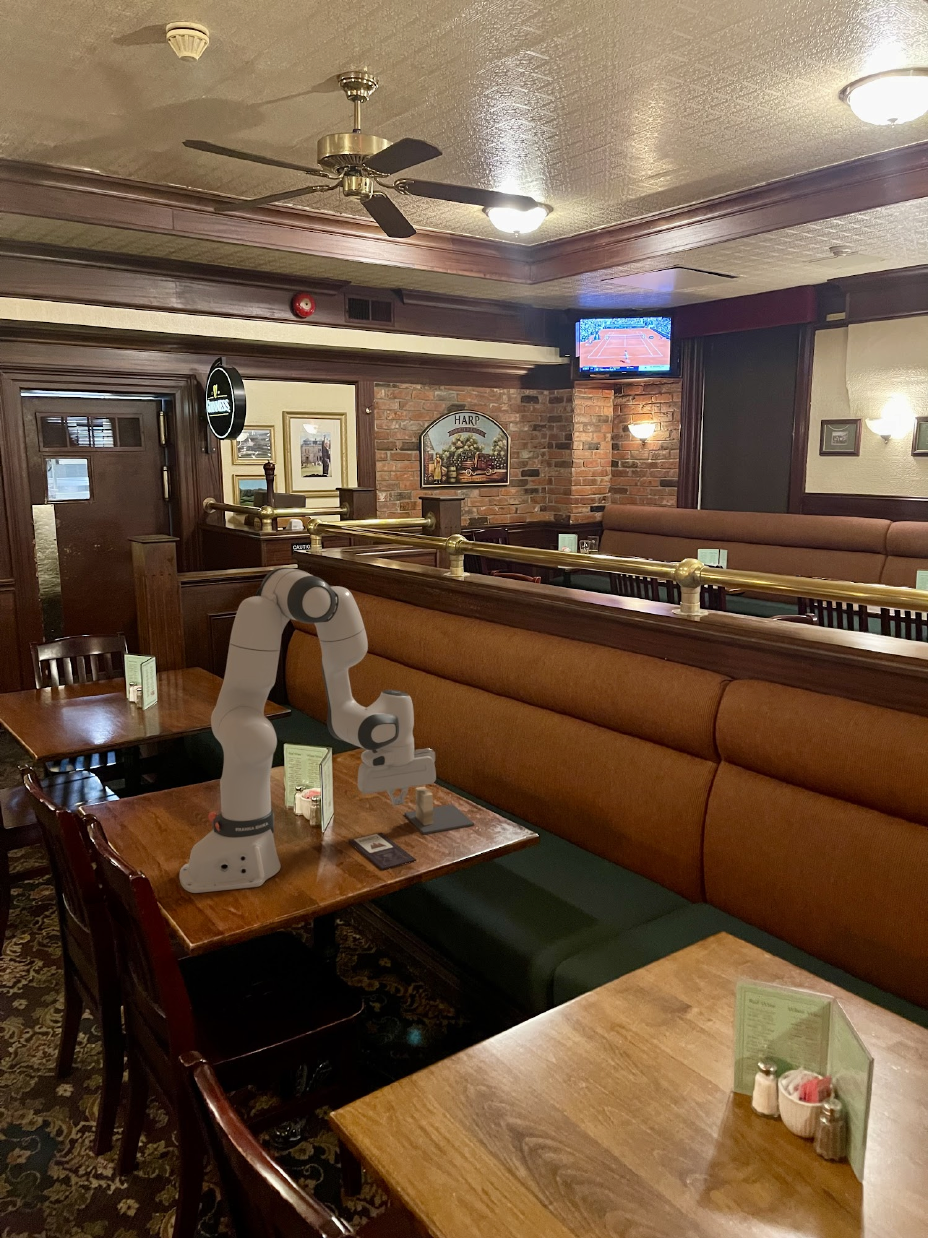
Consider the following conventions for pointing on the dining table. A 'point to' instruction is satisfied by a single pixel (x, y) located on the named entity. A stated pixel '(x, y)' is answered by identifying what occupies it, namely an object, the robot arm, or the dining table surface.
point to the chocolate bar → (382, 851)
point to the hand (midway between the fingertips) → (397, 804)
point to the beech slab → (424, 805)
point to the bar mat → (442, 819)
